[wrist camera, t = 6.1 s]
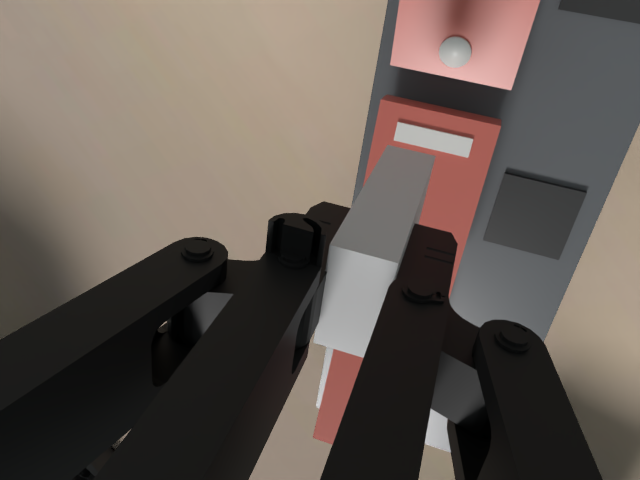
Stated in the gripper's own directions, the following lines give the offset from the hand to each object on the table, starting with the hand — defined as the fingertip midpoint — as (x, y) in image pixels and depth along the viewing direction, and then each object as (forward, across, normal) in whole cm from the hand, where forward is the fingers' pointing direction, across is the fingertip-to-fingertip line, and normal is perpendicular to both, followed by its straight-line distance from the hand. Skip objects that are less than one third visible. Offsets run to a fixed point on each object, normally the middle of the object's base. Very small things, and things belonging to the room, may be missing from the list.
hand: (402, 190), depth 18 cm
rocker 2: (+5, 0, -3) cm, 6 cm away
